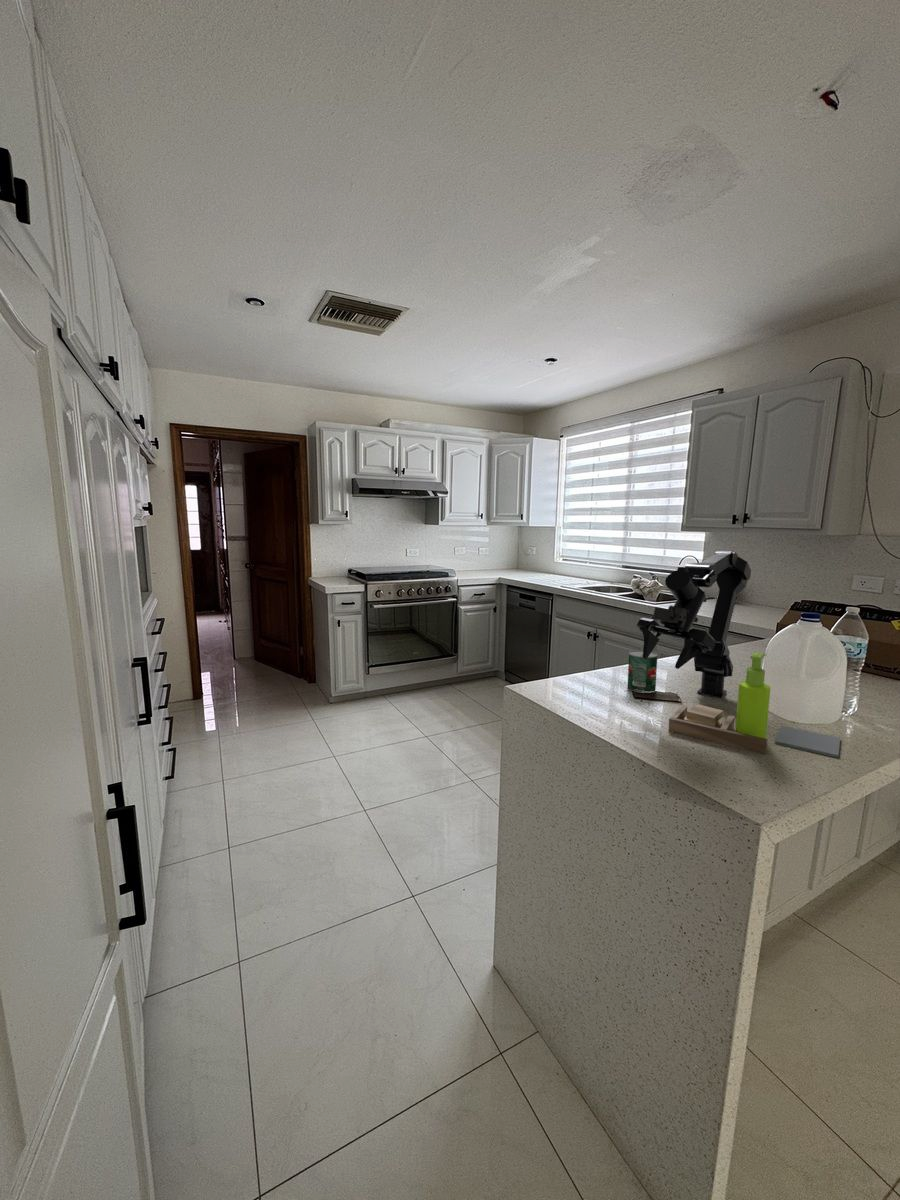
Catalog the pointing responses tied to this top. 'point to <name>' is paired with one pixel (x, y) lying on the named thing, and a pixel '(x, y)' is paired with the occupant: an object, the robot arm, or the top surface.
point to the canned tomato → (642, 671)
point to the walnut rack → (716, 732)
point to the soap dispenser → (753, 700)
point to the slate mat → (808, 741)
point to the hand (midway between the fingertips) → (659, 663)
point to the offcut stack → (705, 716)
